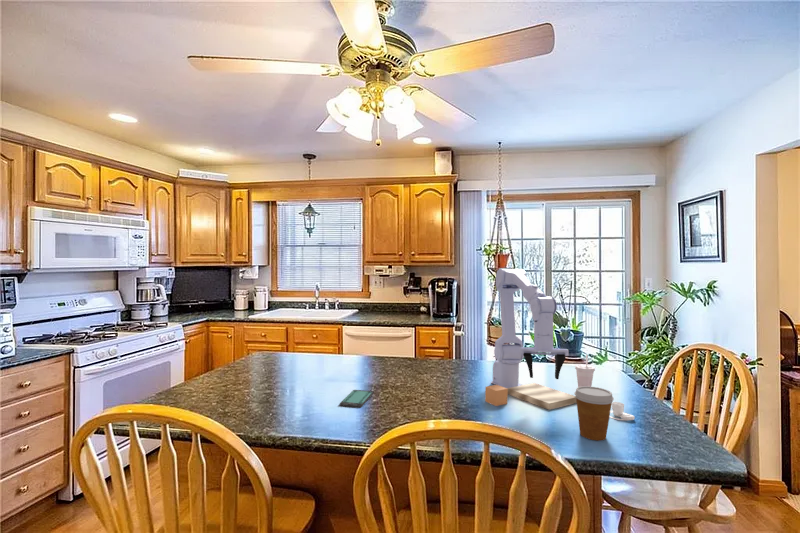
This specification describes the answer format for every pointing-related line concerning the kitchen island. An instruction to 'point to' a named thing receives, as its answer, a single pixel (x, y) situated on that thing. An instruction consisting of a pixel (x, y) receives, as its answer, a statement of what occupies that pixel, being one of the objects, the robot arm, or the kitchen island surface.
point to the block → (496, 395)
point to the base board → (542, 396)
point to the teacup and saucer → (620, 412)
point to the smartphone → (356, 398)
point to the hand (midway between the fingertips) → (544, 377)
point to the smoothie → (584, 374)
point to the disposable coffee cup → (593, 411)
